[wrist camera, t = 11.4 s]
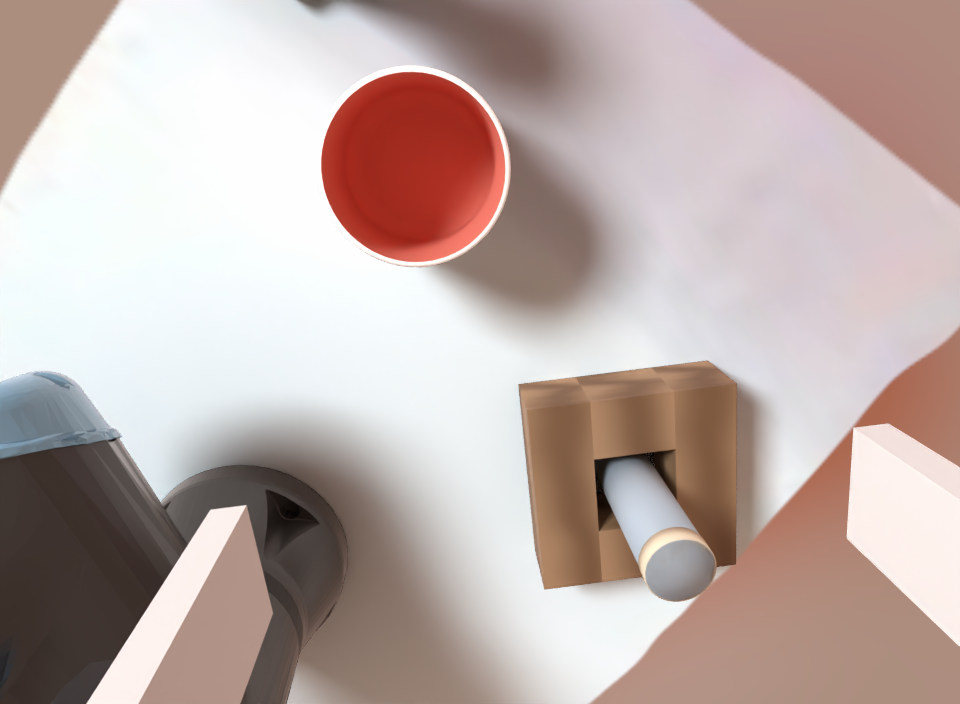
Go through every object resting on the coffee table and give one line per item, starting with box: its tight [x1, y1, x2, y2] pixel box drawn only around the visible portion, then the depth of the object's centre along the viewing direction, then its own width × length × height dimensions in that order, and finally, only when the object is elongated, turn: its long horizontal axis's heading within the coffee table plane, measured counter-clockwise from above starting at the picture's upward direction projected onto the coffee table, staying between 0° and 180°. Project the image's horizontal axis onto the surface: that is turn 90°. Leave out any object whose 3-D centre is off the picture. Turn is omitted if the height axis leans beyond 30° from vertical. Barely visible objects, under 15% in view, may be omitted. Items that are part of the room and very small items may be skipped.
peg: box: [594, 453, 716, 602], centre depth 44 cm, size 4×4×14 cm
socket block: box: [518, 361, 737, 590], centre depth 48 cm, size 14×14×5 cm
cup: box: [316, 66, 511, 267], centre depth 39 cm, size 10×10×10 cm
